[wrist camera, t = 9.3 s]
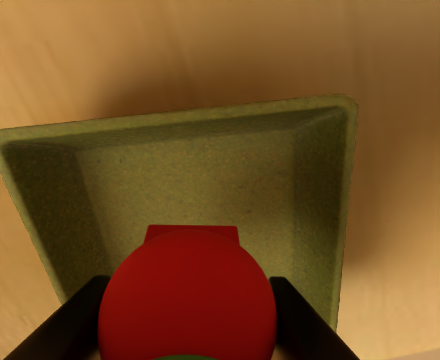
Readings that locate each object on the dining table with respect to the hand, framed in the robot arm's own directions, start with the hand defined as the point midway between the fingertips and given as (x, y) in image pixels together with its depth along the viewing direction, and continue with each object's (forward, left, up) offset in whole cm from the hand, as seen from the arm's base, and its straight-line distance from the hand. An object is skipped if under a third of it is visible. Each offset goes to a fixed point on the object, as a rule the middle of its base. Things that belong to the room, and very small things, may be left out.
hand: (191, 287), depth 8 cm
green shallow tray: (0, 0, -3) cm, 3 cm away
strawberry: (0, 0, -1) cm, 1 cm away
